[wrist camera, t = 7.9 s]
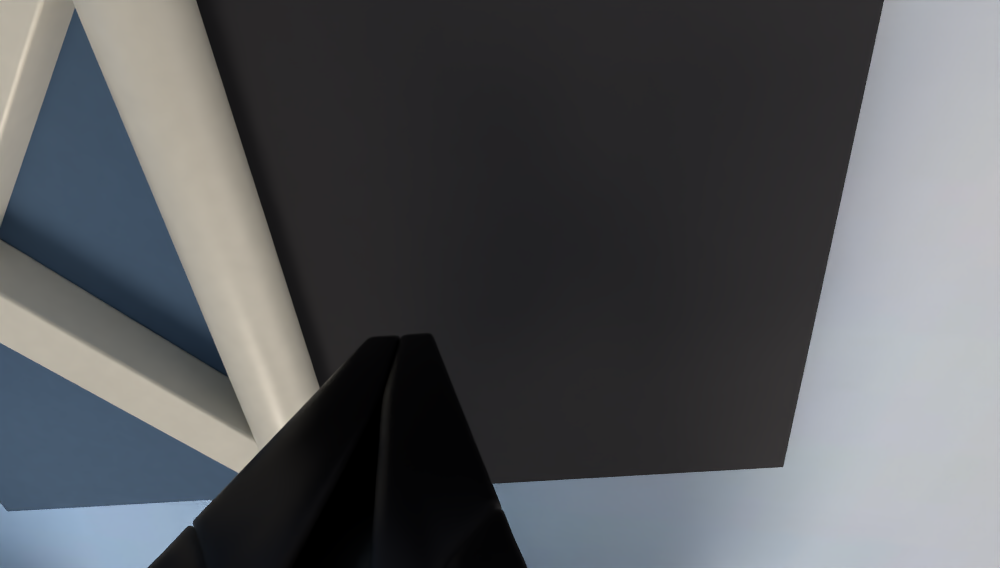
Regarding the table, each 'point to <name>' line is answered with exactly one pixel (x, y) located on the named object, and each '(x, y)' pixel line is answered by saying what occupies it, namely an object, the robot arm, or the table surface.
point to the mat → (477, 224)
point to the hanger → (189, 220)
